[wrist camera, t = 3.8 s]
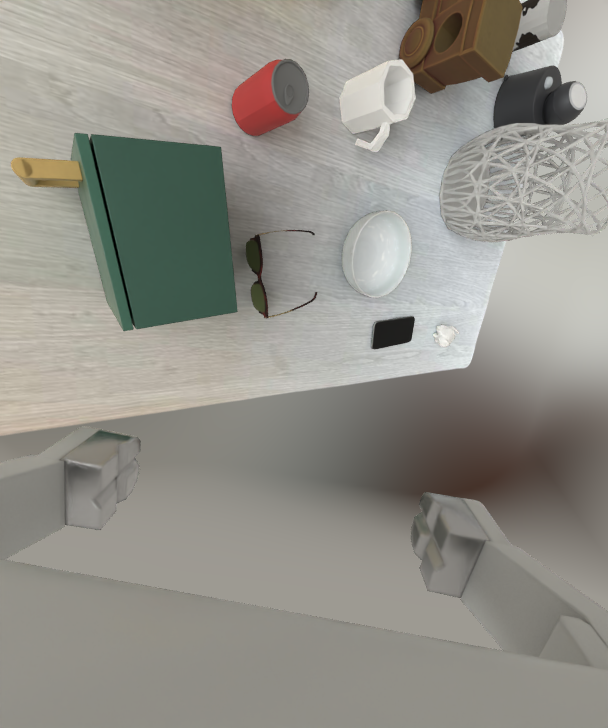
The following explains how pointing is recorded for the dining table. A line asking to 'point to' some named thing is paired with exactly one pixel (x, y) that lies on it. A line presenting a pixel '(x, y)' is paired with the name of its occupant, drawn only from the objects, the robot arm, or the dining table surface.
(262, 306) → the sunglasses
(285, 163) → the dining table surface
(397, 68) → the mug
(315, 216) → the dining table surface
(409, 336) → the smartphone
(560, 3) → the cup
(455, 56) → the wooden toy train
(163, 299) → the cupboard
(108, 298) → the door
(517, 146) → the vase
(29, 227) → the dining table surface
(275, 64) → the beer can
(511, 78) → the light fixture
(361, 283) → the cereal bowl
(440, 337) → the elephant figurine
